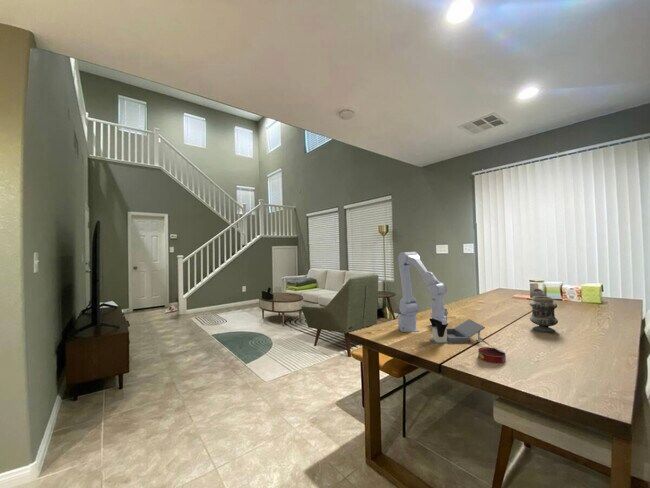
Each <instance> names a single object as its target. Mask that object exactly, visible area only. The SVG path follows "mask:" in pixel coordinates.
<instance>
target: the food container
mask: <svg viewBox="0 0 650 488" xmlns="http://www.w3.org/2000/svg"><path fill="white" fill-rule="evenodd" d="M448 315H449V310H448V309H447V308H446V307H444V316H447V318H445V319H446V320H447V321H448Z"/></svg>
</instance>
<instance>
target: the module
mask: <svg viewBox="0 0 650 488" xmlns="http://www.w3.org/2000/svg"><path fill="white" fill-rule="evenodd" d="M446 329H447V328H446ZM446 329H445V332H444V336H443V337H439V336H438V331H437V327H432V338H433V340H434V341H436V342H448V341H447V330H446Z"/></svg>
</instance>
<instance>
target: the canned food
mask: <svg viewBox="0 0 650 488" xmlns="http://www.w3.org/2000/svg"><path fill="white" fill-rule="evenodd" d="M480 340H481V341H482V342H483V343H484V344H486V345H488V346H489V347H486V346H485V347H483V346H482V347H480V348H478V351H477V352H478V354H477V355H478V359H480V360H481V361H483V362H487V363H491V364H504V363H506V357H507V356H506V352H505V351H503V350H502V349H498V348H497V347H494V346H492V345H490V344H489V343H487V342H486V341H485V340H484V339H483V338H481V337H480Z"/></svg>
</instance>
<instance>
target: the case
mask: <svg viewBox="0 0 650 488" xmlns="http://www.w3.org/2000/svg"><path fill="white" fill-rule="evenodd" d="M485 329H486V327H485V326H484V325H482V324H481V323H480V324H479V323H478V322H476V321H474V320H472V319H470V318H468V319H467V320H465V321H463V322H462V323H460V324H459V325H457V326H455V327H454V328H452V327H451V328H446V330H447V342H448V343H449V344H458V343H459V344H462V343H463V344H465V343H466V344H467V343H470V338H471V337H473V336H475V335H477V339H475V341H477V342H478V343H480V342H481V343H482V342H483V341H481V340H480V338H481V331H483V330H485Z"/></svg>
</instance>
